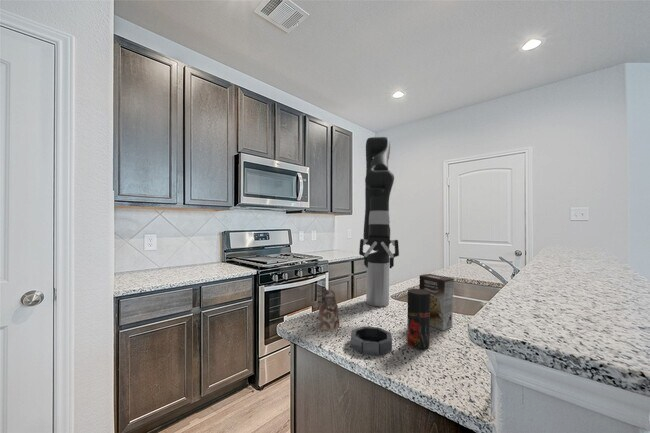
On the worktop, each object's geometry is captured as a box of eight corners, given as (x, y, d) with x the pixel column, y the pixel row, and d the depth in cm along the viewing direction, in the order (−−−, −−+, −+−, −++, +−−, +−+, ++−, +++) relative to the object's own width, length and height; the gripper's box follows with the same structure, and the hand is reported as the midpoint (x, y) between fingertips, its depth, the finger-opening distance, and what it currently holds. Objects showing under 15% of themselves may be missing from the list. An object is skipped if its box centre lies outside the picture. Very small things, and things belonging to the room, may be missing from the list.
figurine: (322, 332, 87) (323, 293, 87) (313, 324, 93) (314, 288, 93) (343, 328, 90) (343, 291, 90) (332, 320, 96) (333, 285, 96)
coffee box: (417, 322, 95) (418, 275, 95) (428, 318, 99) (428, 272, 100) (443, 331, 88) (444, 280, 88) (453, 326, 92) (454, 277, 92)
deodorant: (434, 348, 77) (434, 293, 77) (415, 351, 75) (415, 295, 75) (420, 339, 82) (421, 288, 82) (403, 341, 81) (403, 289, 81)
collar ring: (352, 335, 84) (353, 325, 84) (390, 338, 82) (390, 328, 82) (349, 352, 74) (349, 341, 74) (392, 357, 72) (392, 345, 72)
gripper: (398, 224, 106) (397, 267, 105) (360, 223, 109) (359, 265, 108) (399, 223, 99) (399, 269, 98) (359, 222, 102) (358, 267, 100)
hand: (378, 267), depth 103 cm, fingers open, 8 cm apart
